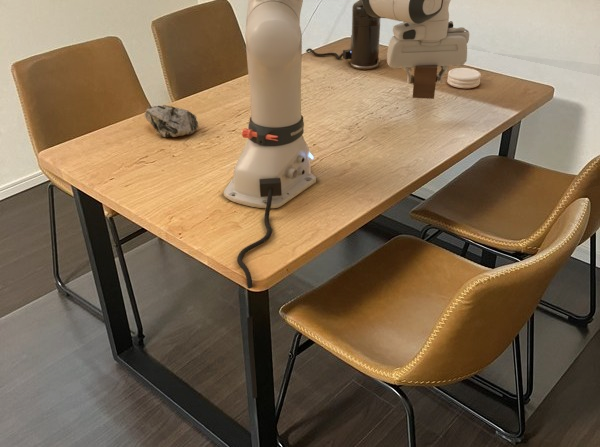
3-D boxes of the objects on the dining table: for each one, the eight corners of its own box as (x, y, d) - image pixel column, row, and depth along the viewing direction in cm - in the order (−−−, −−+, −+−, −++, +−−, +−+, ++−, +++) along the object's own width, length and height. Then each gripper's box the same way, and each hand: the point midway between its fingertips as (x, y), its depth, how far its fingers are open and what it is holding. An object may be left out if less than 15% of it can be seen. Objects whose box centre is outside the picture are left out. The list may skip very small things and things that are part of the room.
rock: (203, 130, 165) (200, 105, 161) (171, 142, 159) (167, 116, 155) (172, 117, 174) (168, 92, 171) (140, 127, 168) (136, 102, 165)
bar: (434, 99, 160) (437, 68, 155) (412, 98, 160) (415, 67, 156) (433, 67, 181) (436, 39, 176) (414, 66, 181) (416, 38, 177)
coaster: (442, 78, 197) (444, 68, 195) (473, 77, 198) (474, 66, 196) (452, 89, 189) (453, 78, 187) (484, 88, 189) (486, 77, 188)
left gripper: (466, 23, 157) (459, 76, 165) (387, 26, 156) (383, 80, 163) (474, 30, 152) (467, 84, 159) (392, 33, 151) (388, 88, 158)
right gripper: (457, -6, 169) (450, 55, 178) (404, -8, 171) (399, 53, 180) (458, 0, 163) (451, 63, 172) (403, -1, 165) (398, 61, 174)
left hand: (424, 82), depth 161 cm, fingers closed on bar, 6 cm apart
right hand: (424, 58), depth 176 cm, fingers closed on bar, 5 cm apart
